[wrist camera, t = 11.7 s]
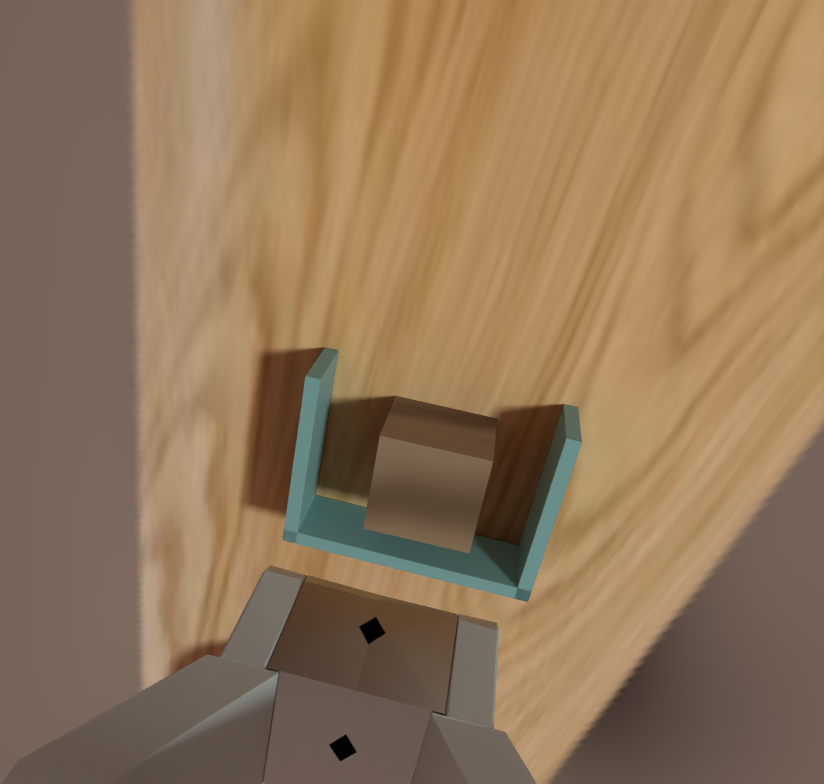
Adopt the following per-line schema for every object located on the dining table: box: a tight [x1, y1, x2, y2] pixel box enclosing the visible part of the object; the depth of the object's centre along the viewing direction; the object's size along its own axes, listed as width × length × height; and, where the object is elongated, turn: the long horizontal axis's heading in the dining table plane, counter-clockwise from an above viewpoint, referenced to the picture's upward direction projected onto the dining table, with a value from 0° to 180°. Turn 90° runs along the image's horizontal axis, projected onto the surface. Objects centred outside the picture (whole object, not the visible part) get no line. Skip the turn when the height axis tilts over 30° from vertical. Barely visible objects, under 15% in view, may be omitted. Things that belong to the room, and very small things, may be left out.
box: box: [283, 348, 582, 602], centre depth 43 cm, size 11×15×4 cm
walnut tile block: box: [363, 396, 497, 553], centre depth 42 cm, size 6×6×5 cm
